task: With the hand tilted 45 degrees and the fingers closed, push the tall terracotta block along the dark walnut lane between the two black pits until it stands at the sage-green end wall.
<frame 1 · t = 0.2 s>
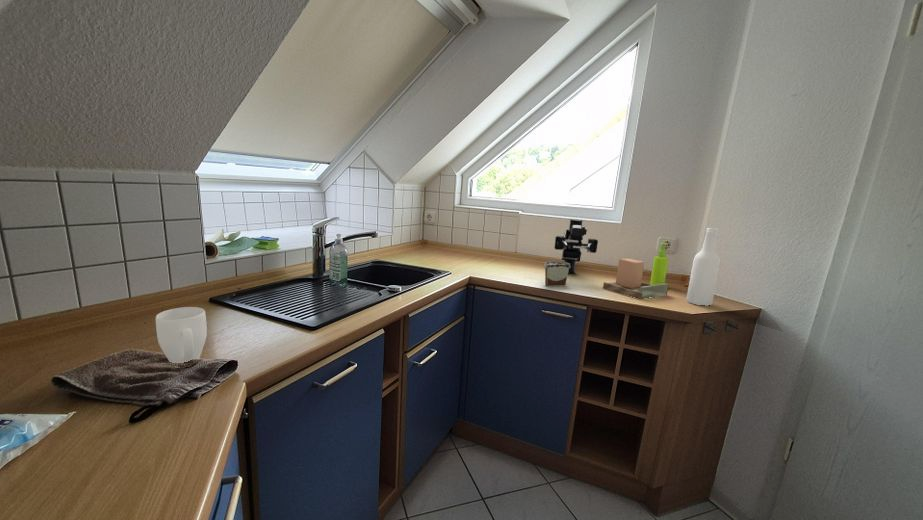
hand: (577, 247, 165), 17 cm above the worktop, tool horizontal, fingers open, 9 cm apart
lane: (634, 291, 162), on the worktop
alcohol: (698, 303, 149), on the worktop
block: (627, 284, 164), point 2 cm above the worktop, touching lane
mug: (187, 368, 78), on the worktop
food container: (552, 284, 166), on the worktop
soap dispenser: (657, 285, 176), on the worktop
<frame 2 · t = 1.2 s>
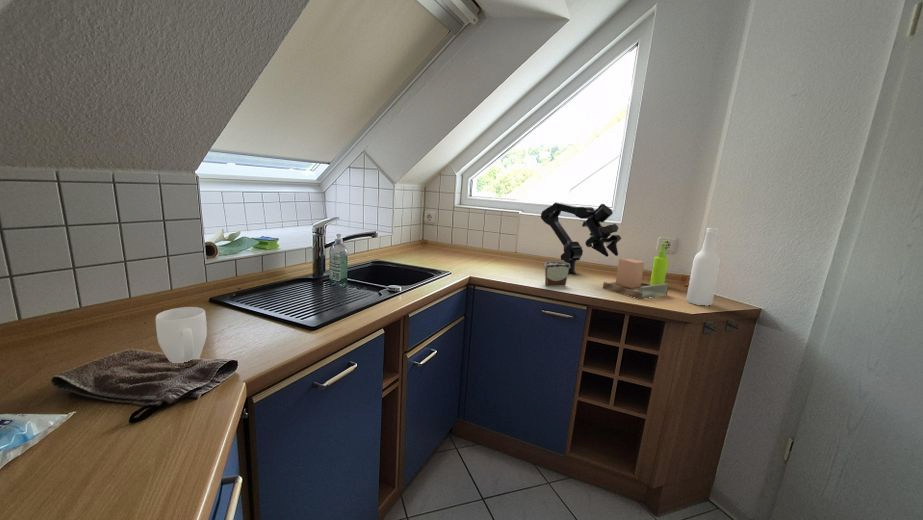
hand: (612, 255, 170), 13 cm above the worktop, tool tilted 45°, fingers open, 6 cm apart
nothing on the worktop moved.
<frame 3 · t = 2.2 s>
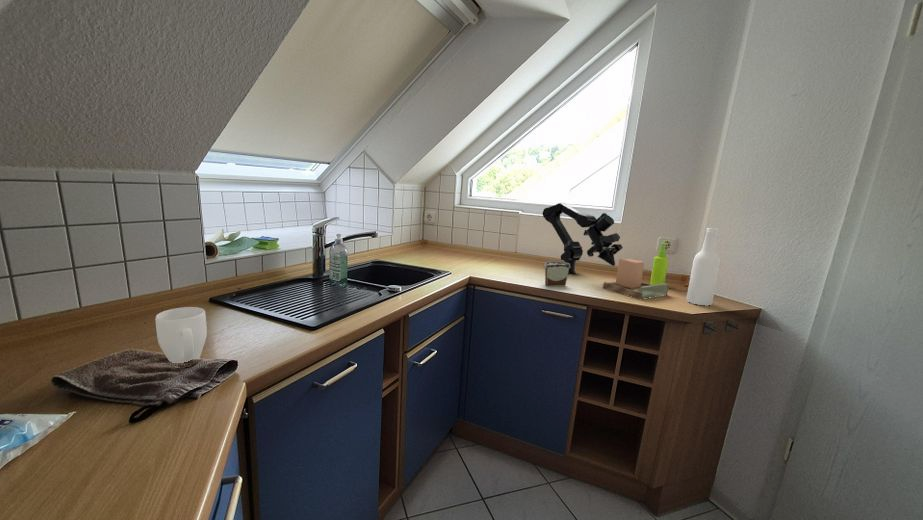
hand: (614, 265, 170), 9 cm above the worktop, tool tilted 45°, fingers closed
nothing on the worktop moved.
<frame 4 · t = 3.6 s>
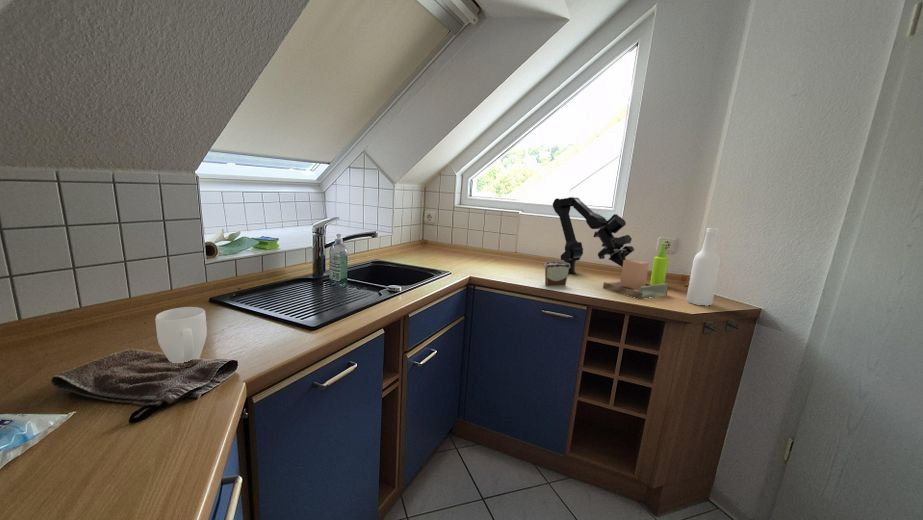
hand: (626, 268, 164), 9 cm above the worktop, tool tilted 45°, fingers closed
block: (632, 286, 162), point 2 cm above the worktop
everything else where it was.
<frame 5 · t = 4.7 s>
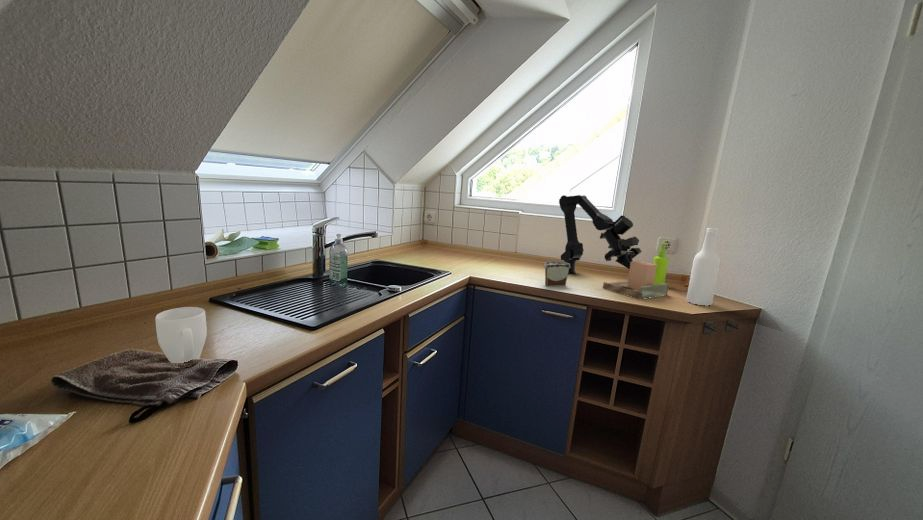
hand: (633, 270, 162), 9 cm above the worktop, tool tilted 45°, fingers closed, pressing on block
block: (639, 288, 159), point 2 cm above the worktop, touching gripper, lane
everything else where it was.
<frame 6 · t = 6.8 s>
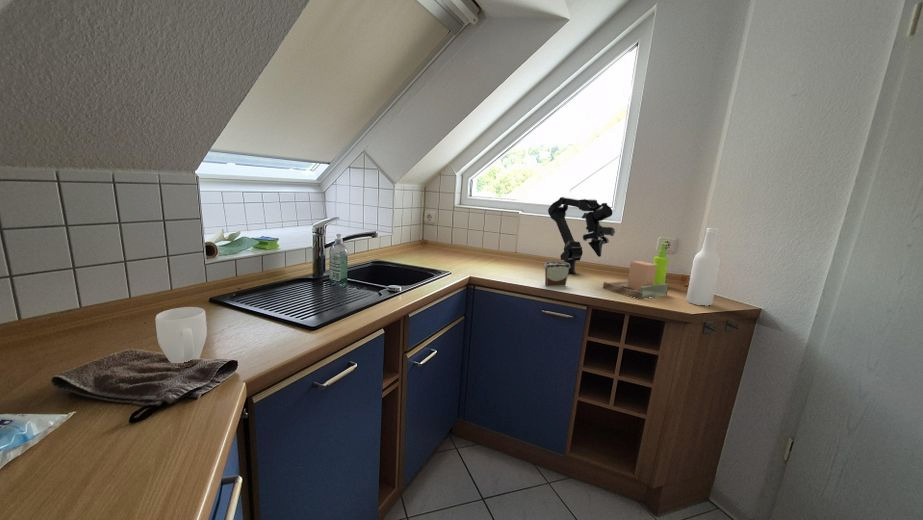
hand: (599, 256, 172), 12 cm above the worktop, tool tilted 25°, fingers closed
block: (639, 288, 159), point 2 cm above the worktop, touching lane
everything else where it was.
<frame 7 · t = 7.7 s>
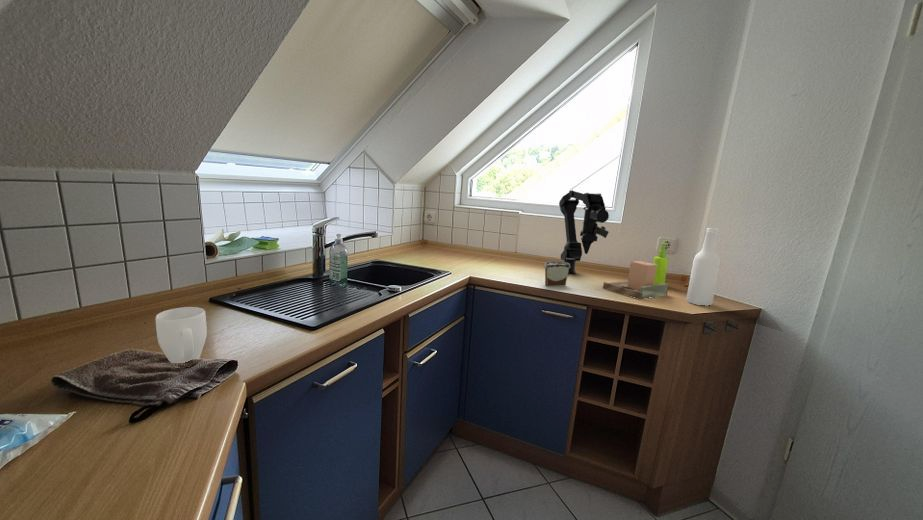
hand: (586, 253, 176), 12 cm above the worktop, tool pointing down, fingers closed
nothing on the worktop moved.
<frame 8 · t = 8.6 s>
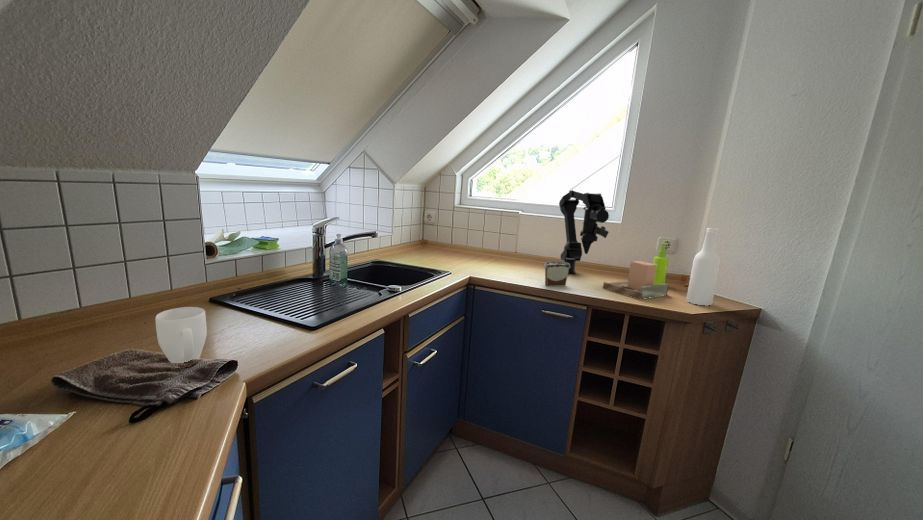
hand: (586, 253, 176), 12 cm above the worktop, tool pointing down, fingers closed
nothing on the worktop moved.
at the end: block inside the target area (2.5 cm from its centre), point 2.0 cm above the worktop; block tilted 0°; block moved 5.7 cm from its start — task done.
